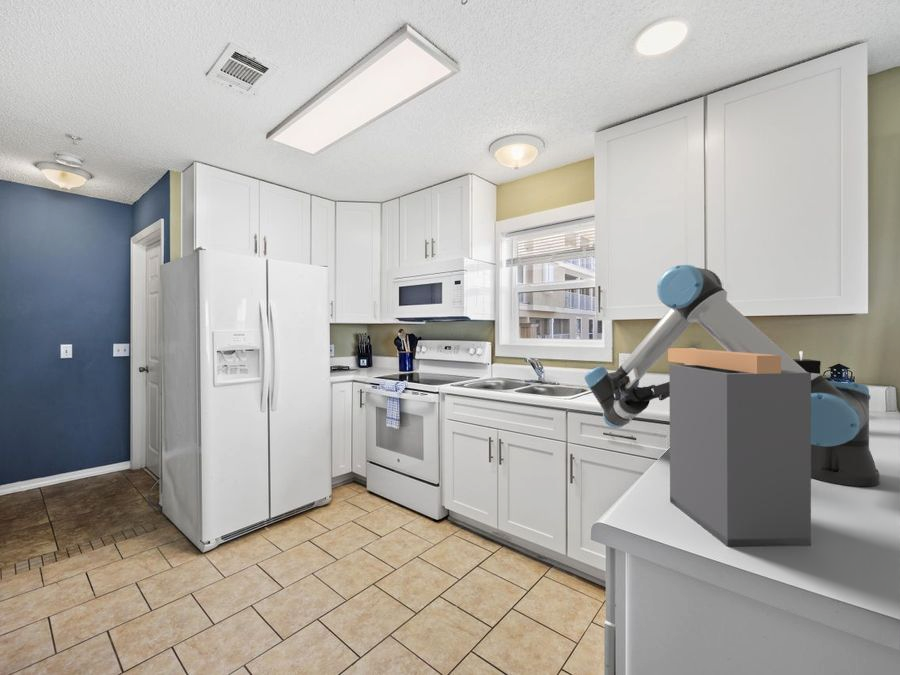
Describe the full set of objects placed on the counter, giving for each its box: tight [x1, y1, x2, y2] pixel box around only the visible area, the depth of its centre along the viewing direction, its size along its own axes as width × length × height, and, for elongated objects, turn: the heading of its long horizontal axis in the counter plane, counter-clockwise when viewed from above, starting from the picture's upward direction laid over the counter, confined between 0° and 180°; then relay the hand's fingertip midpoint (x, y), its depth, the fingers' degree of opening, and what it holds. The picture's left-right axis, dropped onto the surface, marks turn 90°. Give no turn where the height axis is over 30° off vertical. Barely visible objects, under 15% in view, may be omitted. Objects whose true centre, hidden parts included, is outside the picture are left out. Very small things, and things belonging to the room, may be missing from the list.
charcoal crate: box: [668, 364, 812, 547], centre depth 78 cm, size 14×18×29 cm
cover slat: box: [667, 347, 781, 374], centre depth 82 cm, size 28×4×3 cm, turn 0°
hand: (663, 373), depth 102 cm, fingers open, 13 cm apart
